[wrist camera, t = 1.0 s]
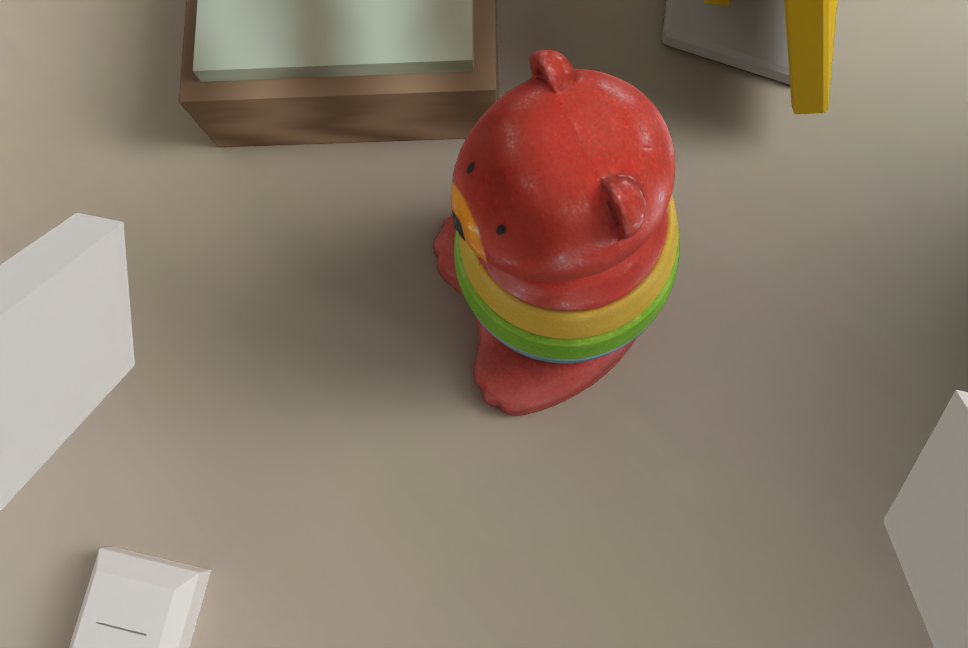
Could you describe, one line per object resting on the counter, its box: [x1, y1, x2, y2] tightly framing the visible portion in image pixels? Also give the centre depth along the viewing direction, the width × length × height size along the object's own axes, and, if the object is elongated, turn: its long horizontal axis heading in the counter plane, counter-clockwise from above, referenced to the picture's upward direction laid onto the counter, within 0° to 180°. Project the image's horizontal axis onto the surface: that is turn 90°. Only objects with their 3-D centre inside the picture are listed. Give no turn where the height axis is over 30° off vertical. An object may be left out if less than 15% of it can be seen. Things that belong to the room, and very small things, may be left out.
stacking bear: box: [433, 50, 680, 415], centre depth 33 cm, size 11×10×18 cm
